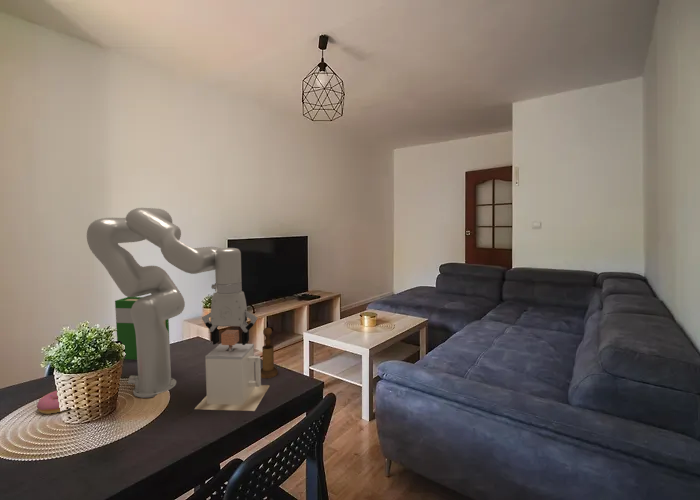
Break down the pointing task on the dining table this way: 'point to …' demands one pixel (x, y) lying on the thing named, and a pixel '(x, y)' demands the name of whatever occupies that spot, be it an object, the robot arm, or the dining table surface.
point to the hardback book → (128, 325)
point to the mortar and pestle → (268, 356)
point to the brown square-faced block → (230, 338)
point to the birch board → (247, 406)
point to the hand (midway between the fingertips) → (230, 343)
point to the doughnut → (49, 403)
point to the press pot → (231, 374)
